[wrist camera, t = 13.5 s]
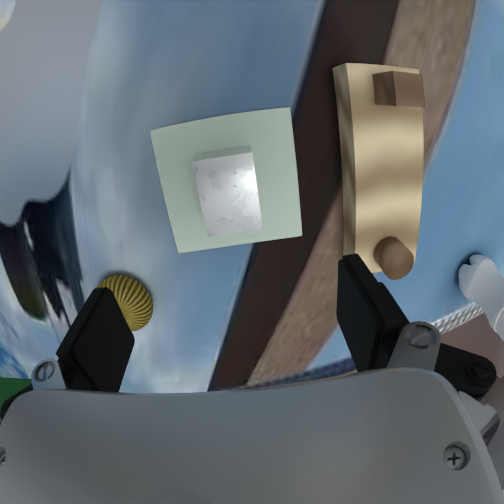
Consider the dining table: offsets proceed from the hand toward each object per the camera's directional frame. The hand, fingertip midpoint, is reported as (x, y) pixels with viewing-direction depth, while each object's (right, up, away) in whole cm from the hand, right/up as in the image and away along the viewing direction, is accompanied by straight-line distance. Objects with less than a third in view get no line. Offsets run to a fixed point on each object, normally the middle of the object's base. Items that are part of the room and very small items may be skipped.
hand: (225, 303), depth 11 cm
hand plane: (+15, +11, +18) cm, 26 cm away
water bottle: (+36, -1, +25) cm, 44 cm away
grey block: (-1, +9, +18) cm, 20 cm away
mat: (-1, +9, +18) cm, 20 cm away
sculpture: (-15, -3, +24) cm, 29 cm away
